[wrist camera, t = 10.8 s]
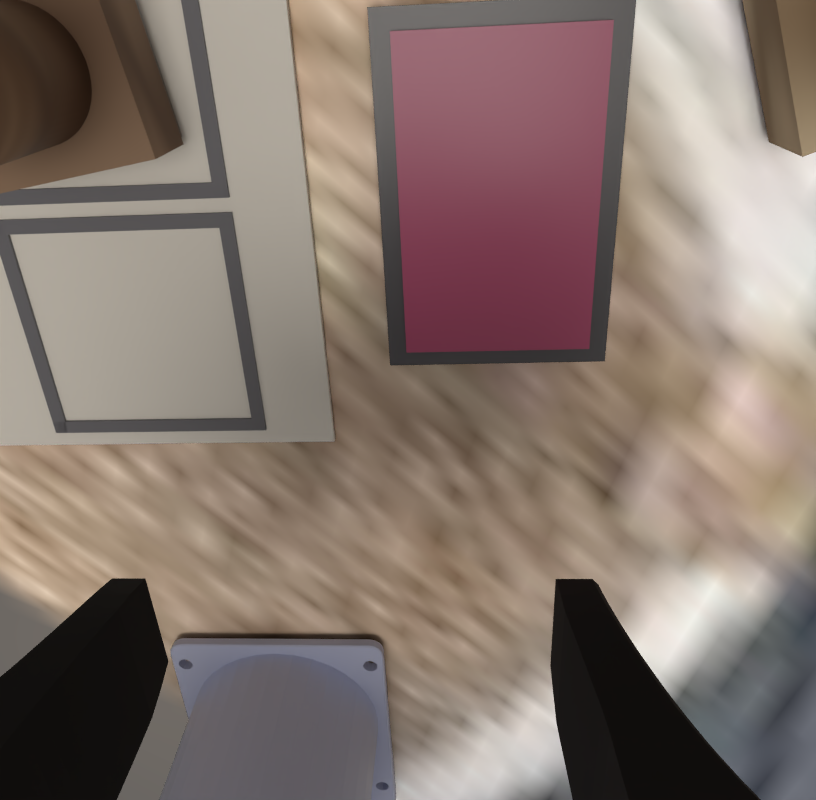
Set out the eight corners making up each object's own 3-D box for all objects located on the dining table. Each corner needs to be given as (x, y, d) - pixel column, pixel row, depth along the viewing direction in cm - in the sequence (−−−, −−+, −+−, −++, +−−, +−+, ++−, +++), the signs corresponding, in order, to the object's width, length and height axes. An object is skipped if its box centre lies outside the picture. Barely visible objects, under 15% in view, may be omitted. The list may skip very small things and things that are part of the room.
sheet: (335, 438, 23) (334, 443, 23) (3, 442, 24) (-3, 446, 24) (272, -142, 16) (269, -144, 16) (-195, -110, 17) (-205, -112, 17)
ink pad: (598, 346, 21) (606, 365, 20) (392, 350, 22) (389, 369, 21) (627, -7, 17) (639, -7, 16) (371, 6, 18) (366, 7, 17)
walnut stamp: (189, 140, 19) (77, 199, 13) (33, 176, 20) (-138, 246, 14) (123, -58, 17) (-42, -89, 11) (-49, -12, 18) (-287, -18, 12)
